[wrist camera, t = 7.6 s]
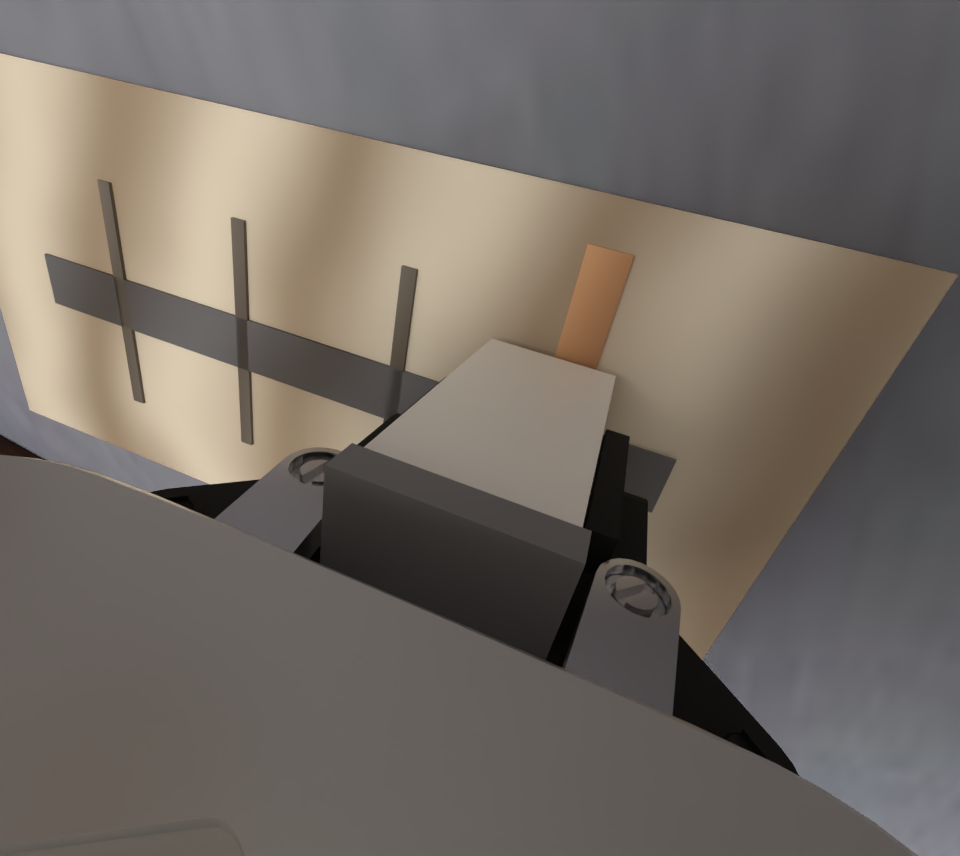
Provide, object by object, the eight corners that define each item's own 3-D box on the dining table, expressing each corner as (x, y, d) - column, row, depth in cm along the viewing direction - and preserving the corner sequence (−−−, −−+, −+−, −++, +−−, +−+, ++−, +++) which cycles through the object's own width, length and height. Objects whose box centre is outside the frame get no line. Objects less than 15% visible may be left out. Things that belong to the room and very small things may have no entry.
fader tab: (621, 373, 11) (585, 563, 5) (558, 544, 13) (486, 801, 8) (488, 333, 11) (324, 464, 6) (451, 504, 14) (311, 714, 8)
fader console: (918, 265, 10) (961, 275, 9) (685, 641, 16) (688, 684, 14) (-14, 49, 15) (-83, 34, 13) (69, 397, 20) (27, 410, 19)
